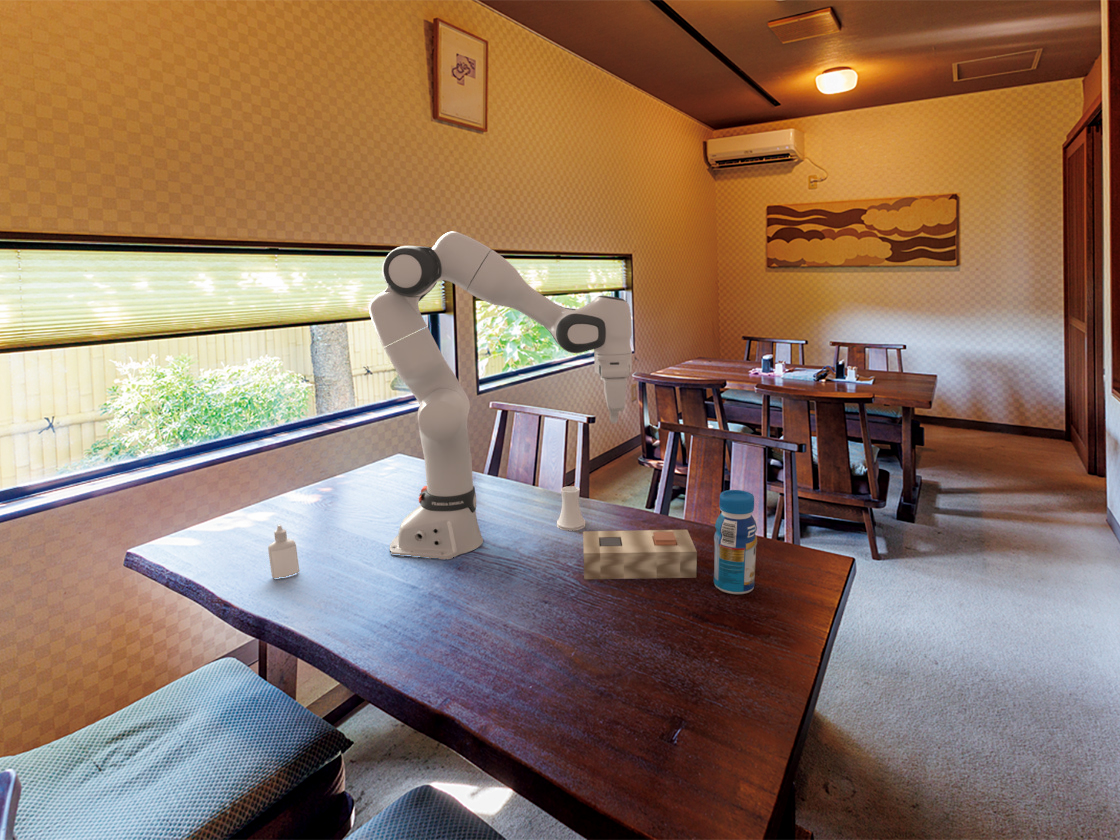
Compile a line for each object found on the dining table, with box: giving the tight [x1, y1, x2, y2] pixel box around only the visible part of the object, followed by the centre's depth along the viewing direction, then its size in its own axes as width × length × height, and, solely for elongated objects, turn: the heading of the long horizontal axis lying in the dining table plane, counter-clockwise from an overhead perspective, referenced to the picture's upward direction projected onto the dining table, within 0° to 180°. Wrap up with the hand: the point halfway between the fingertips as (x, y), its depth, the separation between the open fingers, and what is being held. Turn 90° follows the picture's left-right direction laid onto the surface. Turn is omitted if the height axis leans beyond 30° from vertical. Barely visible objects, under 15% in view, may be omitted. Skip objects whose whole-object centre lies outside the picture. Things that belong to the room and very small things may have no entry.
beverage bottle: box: [713, 489, 758, 595], centre depth 129 cm, size 8×8×20 cm
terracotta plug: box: [653, 532, 676, 545], centre depth 140 cm, size 4×4×6 cm
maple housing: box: [582, 529, 698, 580], centre depth 141 cm, size 24×12×6 cm, turn 88°
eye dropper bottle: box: [267, 524, 300, 579], centre depth 141 cm, size 4×6×12 cm
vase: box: [556, 485, 586, 532], centre depth 165 cm, size 8×8×10 cm
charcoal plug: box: [600, 537, 621, 546], centre depth 141 cm, size 4×4×6 cm
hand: (613, 422), depth 153 cm, fingers closed
